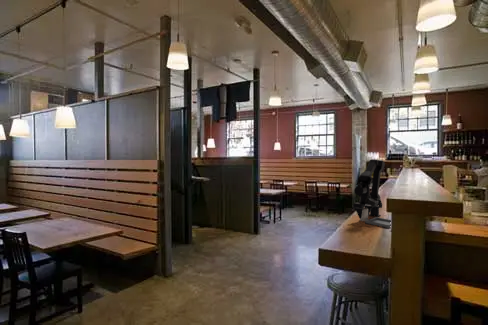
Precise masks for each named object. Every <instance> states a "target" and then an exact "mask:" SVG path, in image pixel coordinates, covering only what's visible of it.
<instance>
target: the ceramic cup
mask: <svg viewBox="0 0 488 325" xmlns="http://www.w3.org/2000/svg"><path fill="white" fill-rule="evenodd" d="M368 219H369V216H368V208H365V207H364V210H363V211H362V217H361V218H359V221H360V222H365V220H368Z"/></svg>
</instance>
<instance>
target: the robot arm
mask: <svg viewBox="0 0 488 325" xmlns="http://www.w3.org/2000/svg"><path fill="white" fill-rule="evenodd" d="M385 163H386V162H385V161H384V160H381V159H373V158H372V159H369V162H368V165H367V167H366V168H365V171H363V172H361V173H360V175H359V176H358V178H357V181H356V185H357V186H356V187H355V188H354V194H355V195H357V196H358V197H359V200H358V202H354V203H353V204H352V208H354V210H355V212H356V214H357V216H358V218H359V219H360V218H361V217H362V211H363V210H364V208H368V217H369V216H371V217H375V218H376V217H380V216H381V214H380V209H382V208H383V202H382V199H381V195H380V193H379V191H380V182H381V173H382V172H383V171H384V169H385V166H386V164H385ZM370 187H371V190H370ZM370 191H371V192H370Z"/></svg>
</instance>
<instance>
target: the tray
mask: <svg viewBox="0 0 488 325" xmlns="http://www.w3.org/2000/svg"><path fill="white" fill-rule="evenodd" d="M391 220H392V219H388V218H384V217H383V218H382V217H379V216H377V217H376V216H375V217H373V218H372V217H371V218H368V220H365V221H364V224H365V225H370V224H371V225H370V226H374V225H377V226H376V227H379V226H382V227H381V228H384V227H385V229H391V228H390V226H391V224H390V222H391Z"/></svg>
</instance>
